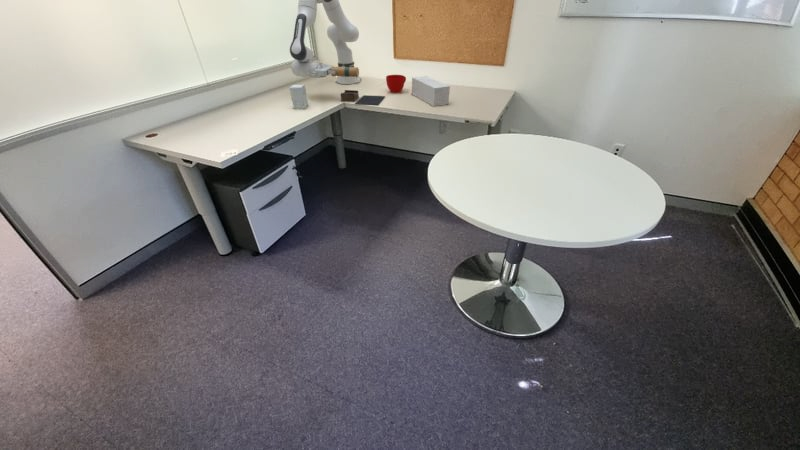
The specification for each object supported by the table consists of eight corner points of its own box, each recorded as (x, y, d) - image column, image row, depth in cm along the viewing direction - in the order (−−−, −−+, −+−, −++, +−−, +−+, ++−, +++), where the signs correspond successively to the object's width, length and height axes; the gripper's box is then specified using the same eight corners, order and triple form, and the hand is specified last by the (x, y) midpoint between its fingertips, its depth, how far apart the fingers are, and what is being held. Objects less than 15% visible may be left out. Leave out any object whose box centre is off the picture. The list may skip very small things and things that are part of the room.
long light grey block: (411, 94, 228) (412, 77, 221) (425, 92, 231) (426, 76, 225) (433, 106, 204) (434, 88, 198) (448, 104, 207) (449, 86, 201)
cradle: (346, 97, 222) (345, 89, 219) (358, 97, 221) (358, 90, 218) (341, 101, 214) (340, 93, 212) (354, 101, 213) (353, 94, 210)
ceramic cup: (412, 90, 235) (412, 75, 230) (395, 95, 226) (395, 79, 220) (398, 87, 243) (398, 72, 237) (382, 91, 233) (382, 76, 227)
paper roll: (331, 76, 209) (330, 67, 206) (333, 75, 213) (333, 65, 210) (357, 77, 207) (356, 67, 204) (359, 76, 211) (358, 66, 208)
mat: (363, 95, 225) (363, 95, 224) (385, 96, 222) (385, 96, 222) (355, 104, 209) (355, 103, 208) (377, 105, 206) (377, 104, 206)
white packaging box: (308, 105, 207) (305, 84, 199) (304, 109, 201) (301, 87, 193) (297, 105, 207) (293, 84, 200) (293, 108, 201) (288, 87, 194)
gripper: (309, 67, 200) (331, 68, 199) (321, 62, 217) (341, 63, 216) (311, 78, 204) (332, 79, 202) (322, 73, 221) (342, 74, 219)
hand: (337, 71), depth 209 cm, fingers closed on paper roll, 5 cm apart
